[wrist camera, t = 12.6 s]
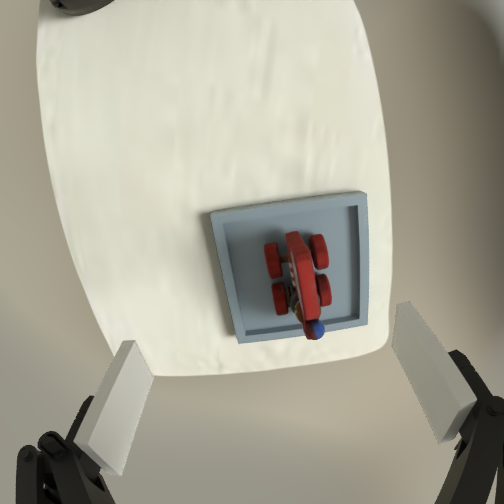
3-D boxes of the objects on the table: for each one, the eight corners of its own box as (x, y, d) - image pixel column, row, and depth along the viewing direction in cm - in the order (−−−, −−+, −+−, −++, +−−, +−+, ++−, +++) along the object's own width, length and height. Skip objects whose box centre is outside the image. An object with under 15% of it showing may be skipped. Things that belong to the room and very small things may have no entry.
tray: (212, 211, 35) (210, 215, 33) (361, 190, 34) (366, 193, 32) (239, 335, 41) (238, 343, 40) (363, 316, 40) (367, 324, 38)
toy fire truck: (277, 316, 39) (282, 369, 30) (260, 227, 35) (260, 262, 25) (328, 306, 39) (347, 357, 29) (318, 217, 34) (341, 247, 25)
